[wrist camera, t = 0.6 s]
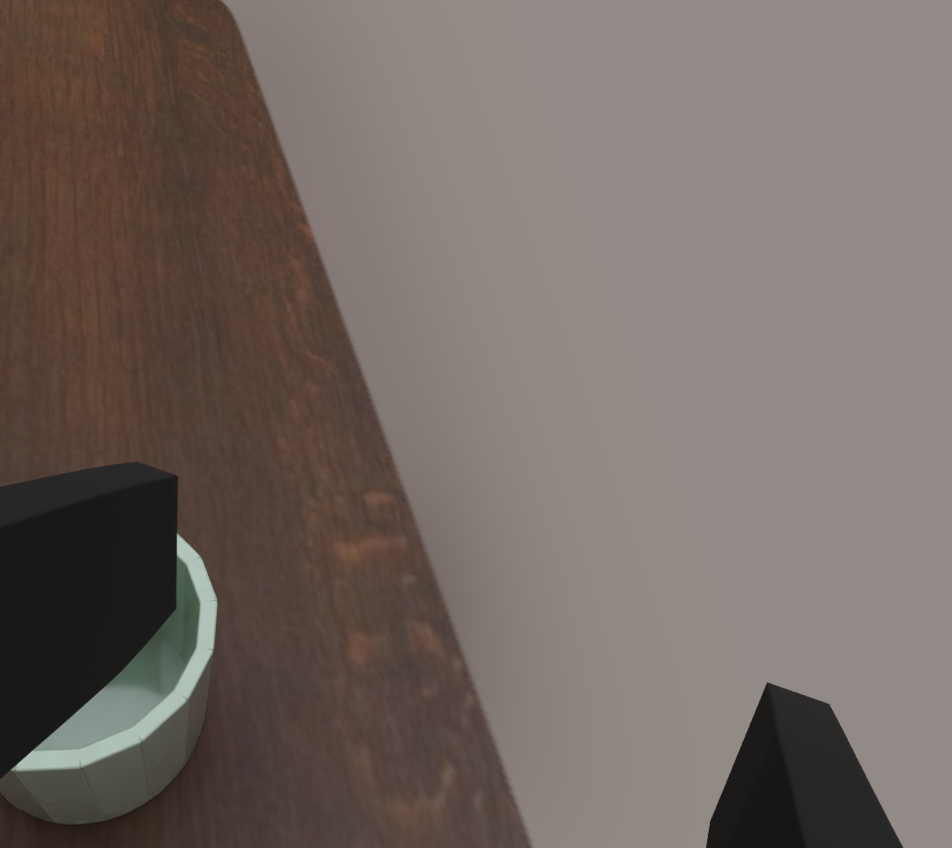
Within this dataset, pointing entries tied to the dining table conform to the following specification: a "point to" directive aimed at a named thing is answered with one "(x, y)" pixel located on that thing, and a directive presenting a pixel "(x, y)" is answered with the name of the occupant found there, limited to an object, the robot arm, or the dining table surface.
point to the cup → (129, 720)
